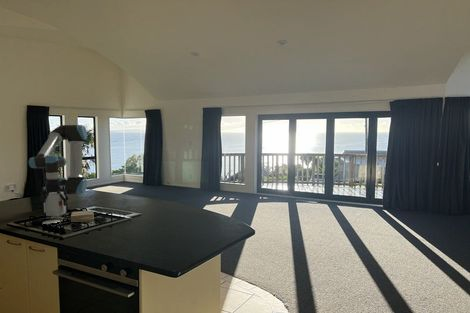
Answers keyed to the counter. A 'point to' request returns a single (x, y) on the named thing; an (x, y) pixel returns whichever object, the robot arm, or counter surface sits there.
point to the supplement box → (54, 204)
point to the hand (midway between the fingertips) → (54, 211)
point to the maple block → (82, 216)
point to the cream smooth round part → (51, 221)
